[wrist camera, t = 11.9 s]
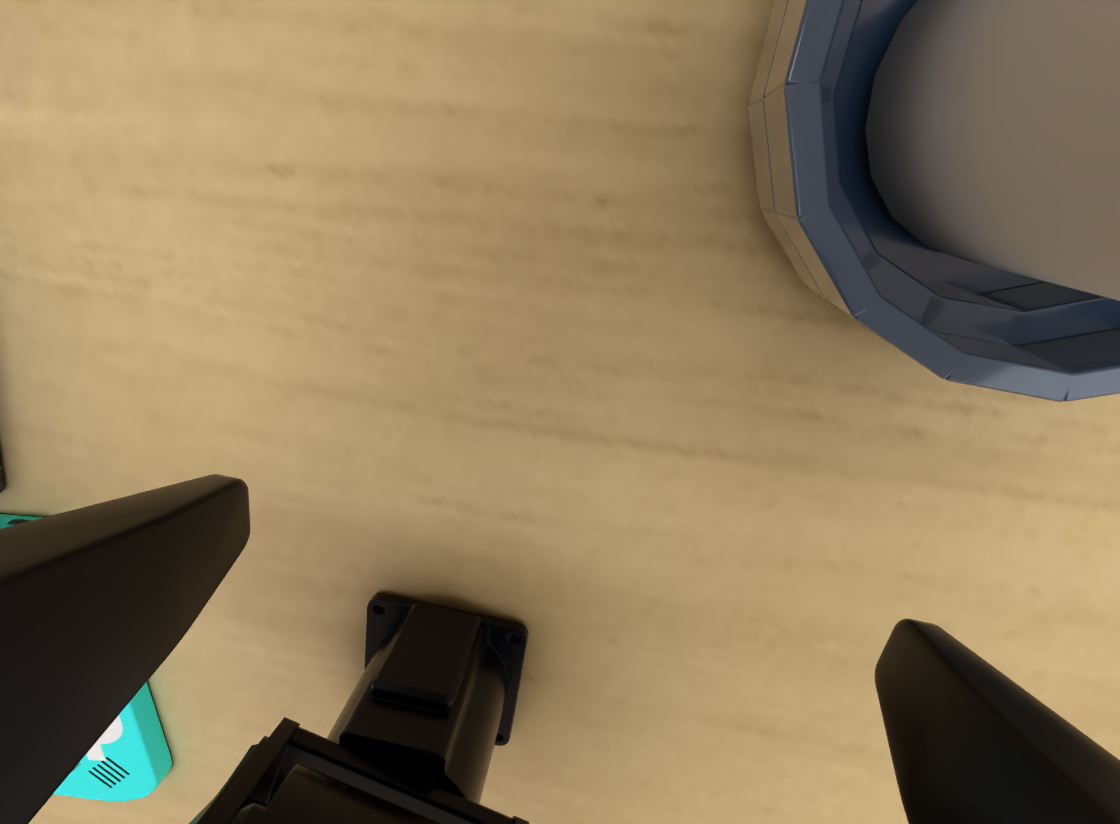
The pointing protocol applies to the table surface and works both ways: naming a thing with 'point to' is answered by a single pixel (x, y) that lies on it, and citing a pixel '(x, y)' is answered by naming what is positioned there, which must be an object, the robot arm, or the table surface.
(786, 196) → the bowl
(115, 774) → the handheld game console
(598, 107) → the table surface
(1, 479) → the red and grey device
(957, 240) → the can
